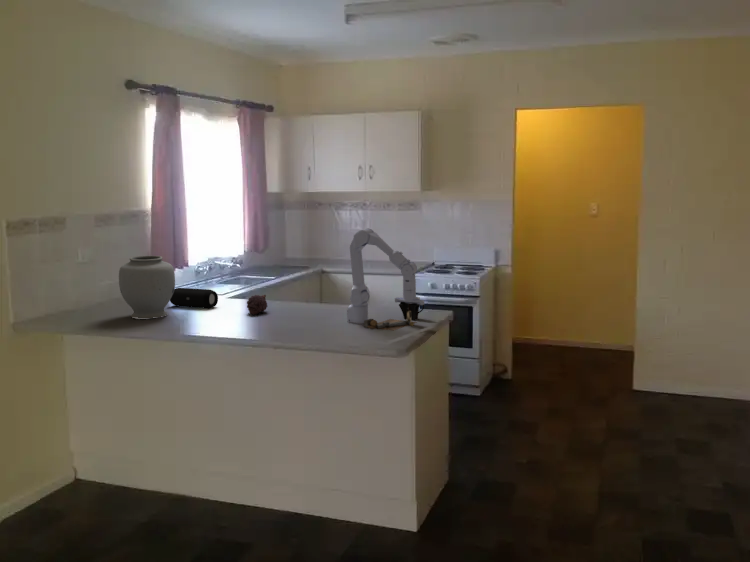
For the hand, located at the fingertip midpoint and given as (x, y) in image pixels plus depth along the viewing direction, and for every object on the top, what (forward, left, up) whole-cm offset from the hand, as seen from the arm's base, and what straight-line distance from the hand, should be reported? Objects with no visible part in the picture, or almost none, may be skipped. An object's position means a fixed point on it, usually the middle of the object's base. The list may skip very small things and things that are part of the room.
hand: (409, 319), depth 335 cm
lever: (-4, -6, -2) cm, 8 cm away
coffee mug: (-8, +15, -4) cm, 17 cm away
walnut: (-11, -13, -2) cm, 17 cm away
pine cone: (-85, -10, -4) cm, 86 cm away
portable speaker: (-127, -14, -4) cm, 128 cm away
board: (-6, -5, -4) cm, 8 cm away
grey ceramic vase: (-127, -43, -4) cm, 134 cm away
